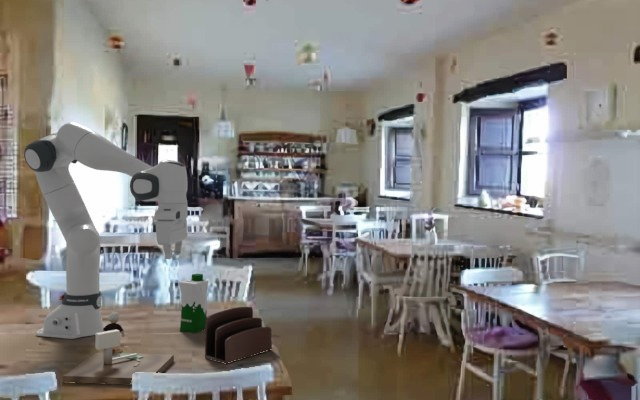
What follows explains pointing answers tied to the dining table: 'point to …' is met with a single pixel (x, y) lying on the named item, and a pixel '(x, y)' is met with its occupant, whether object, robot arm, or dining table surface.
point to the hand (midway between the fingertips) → (173, 256)
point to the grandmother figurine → (113, 326)
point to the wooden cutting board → (117, 368)
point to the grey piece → (109, 345)
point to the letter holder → (235, 335)
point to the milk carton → (193, 303)
